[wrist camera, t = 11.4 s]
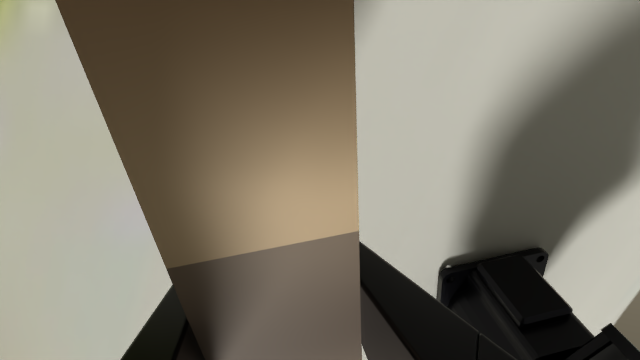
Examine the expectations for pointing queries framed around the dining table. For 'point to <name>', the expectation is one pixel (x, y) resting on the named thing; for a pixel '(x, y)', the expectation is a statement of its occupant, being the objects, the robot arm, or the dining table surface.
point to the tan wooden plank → (239, 161)
